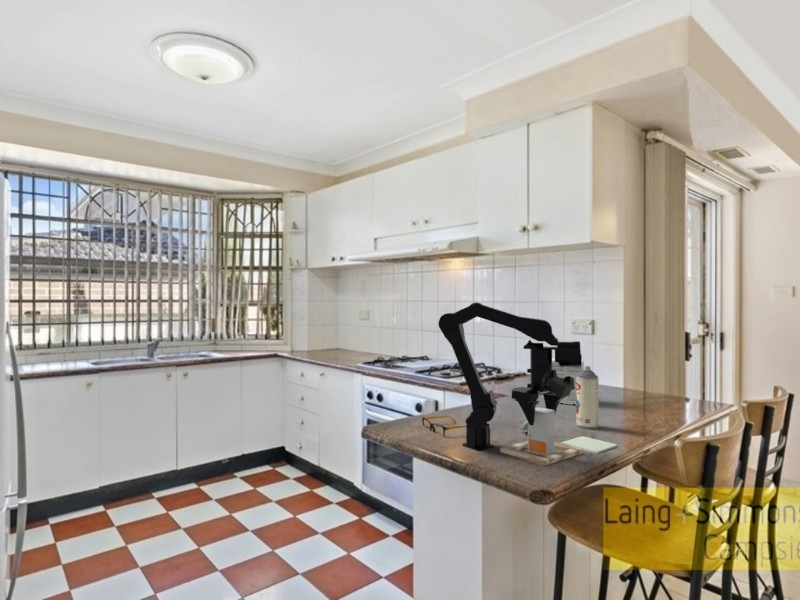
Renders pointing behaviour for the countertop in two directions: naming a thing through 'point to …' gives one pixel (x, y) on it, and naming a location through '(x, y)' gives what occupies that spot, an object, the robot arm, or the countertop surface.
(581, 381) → the aerosol can
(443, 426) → the eyeglasses
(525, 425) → the pacifier
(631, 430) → the countertop surface
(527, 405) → the robot arm
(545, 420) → the skincare box
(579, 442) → the sage mat
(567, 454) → the wooden frame
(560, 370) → the supplement box
